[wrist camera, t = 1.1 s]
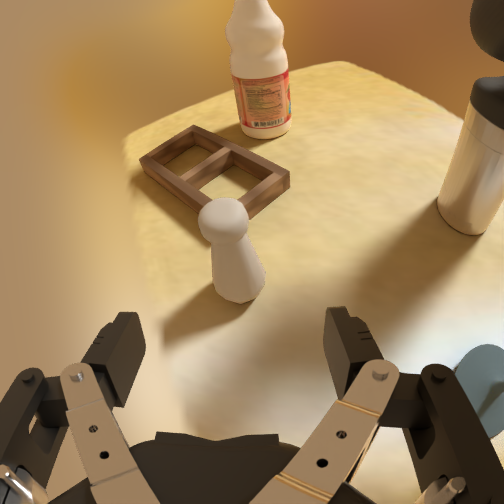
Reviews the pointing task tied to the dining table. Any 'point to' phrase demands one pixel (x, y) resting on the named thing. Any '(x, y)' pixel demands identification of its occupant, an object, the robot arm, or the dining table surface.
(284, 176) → the caddy
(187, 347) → the dining table surface
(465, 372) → the cocktail glass
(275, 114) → the fruit juice
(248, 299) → the salt shaker
